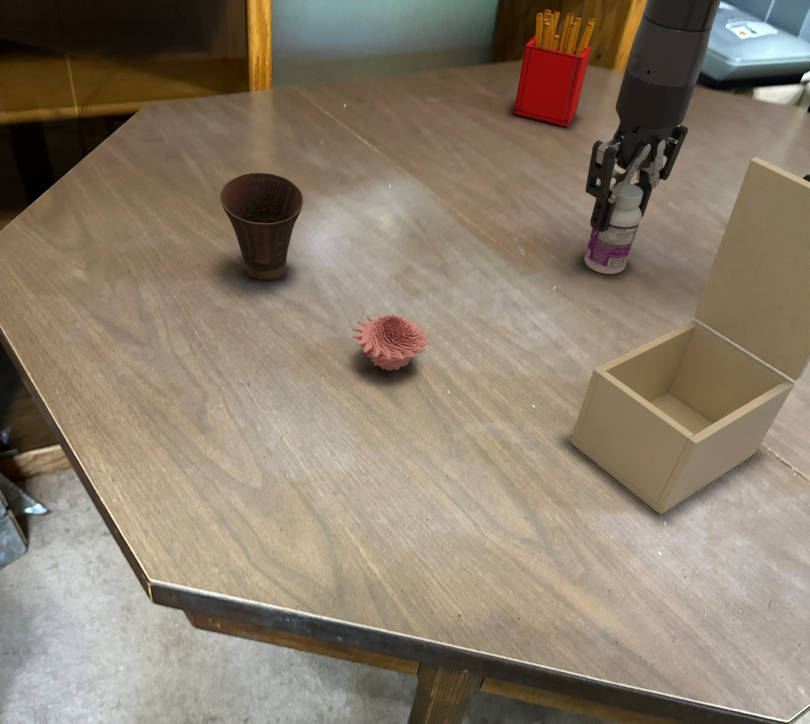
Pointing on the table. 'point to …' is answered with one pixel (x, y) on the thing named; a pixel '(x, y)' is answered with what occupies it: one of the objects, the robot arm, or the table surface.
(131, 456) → the table surface
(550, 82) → the french fries container
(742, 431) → the tan wooden box
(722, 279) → the box lid
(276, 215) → the cup
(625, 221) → the pill bottle
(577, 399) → the table surface
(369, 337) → the flower
